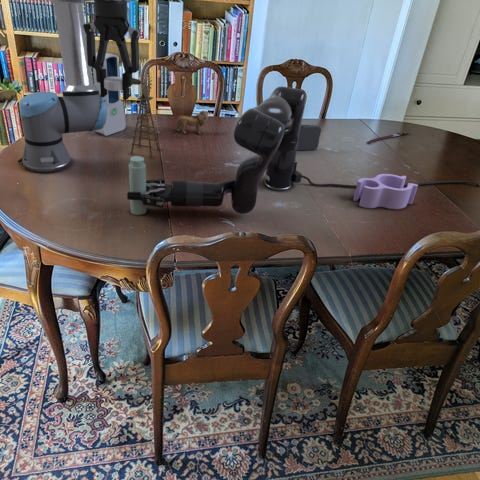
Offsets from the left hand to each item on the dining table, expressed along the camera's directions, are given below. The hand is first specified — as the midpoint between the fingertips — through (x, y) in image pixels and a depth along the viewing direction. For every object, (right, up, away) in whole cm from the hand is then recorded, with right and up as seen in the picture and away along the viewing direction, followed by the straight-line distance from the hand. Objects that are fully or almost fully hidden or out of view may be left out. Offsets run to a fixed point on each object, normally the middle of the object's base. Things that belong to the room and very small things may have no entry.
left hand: (115, 96), depth 122 cm
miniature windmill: (-3, -4, +54) cm, 55 cm away
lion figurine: (+12, +8, +76) cm, 78 cm away
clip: (+81, -24, +38) cm, 93 cm away
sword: (+101, +9, +93) cm, 137 cm away
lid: (0, +3, -2) cm, 4 cm away
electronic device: (-21, +7, +69) cm, 72 cm away
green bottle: (+2, -29, +17) cm, 34 cm away
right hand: (0, -23, +14) cm, 27 cm away
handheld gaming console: (+54, 0, +70) cm, 88 cm away
